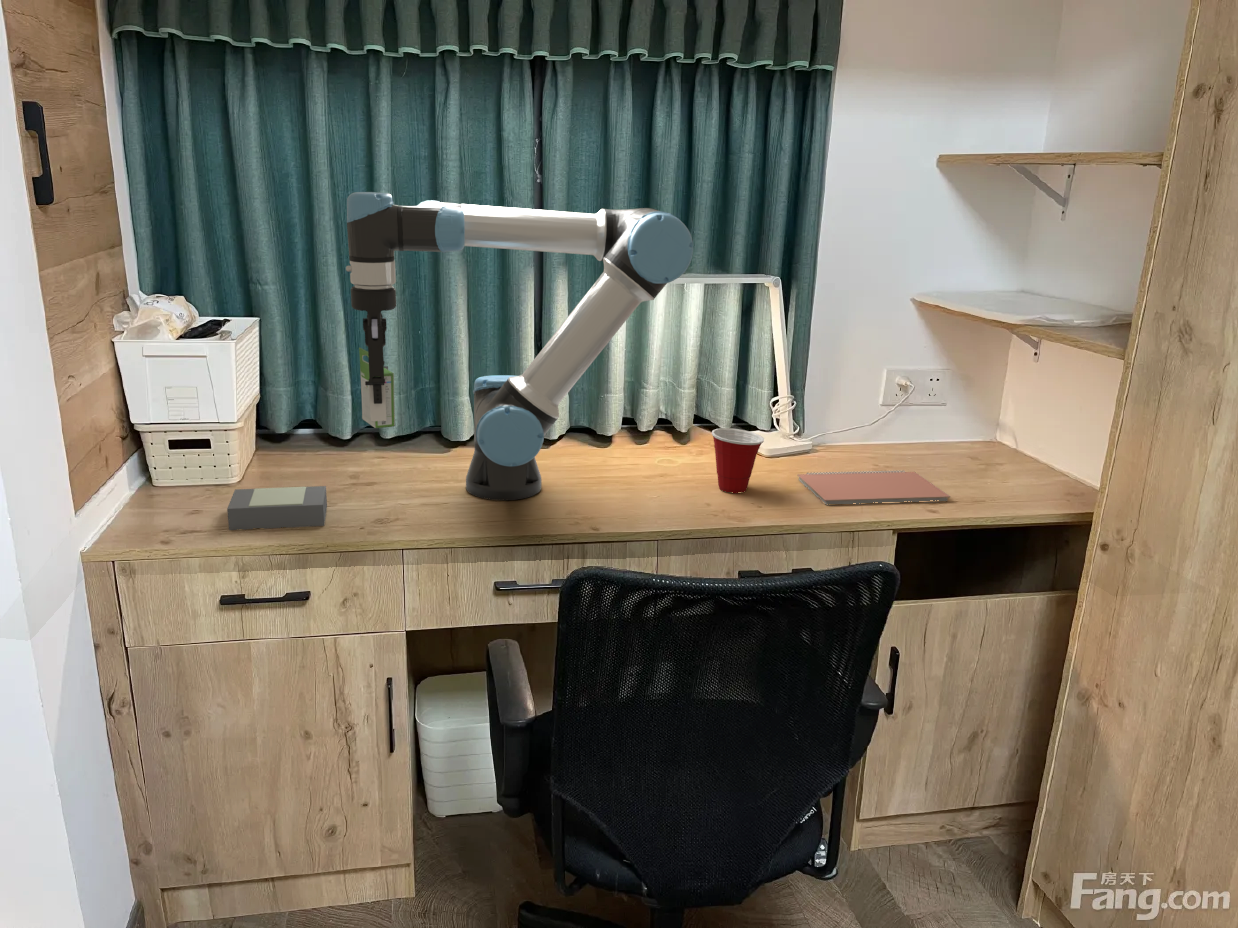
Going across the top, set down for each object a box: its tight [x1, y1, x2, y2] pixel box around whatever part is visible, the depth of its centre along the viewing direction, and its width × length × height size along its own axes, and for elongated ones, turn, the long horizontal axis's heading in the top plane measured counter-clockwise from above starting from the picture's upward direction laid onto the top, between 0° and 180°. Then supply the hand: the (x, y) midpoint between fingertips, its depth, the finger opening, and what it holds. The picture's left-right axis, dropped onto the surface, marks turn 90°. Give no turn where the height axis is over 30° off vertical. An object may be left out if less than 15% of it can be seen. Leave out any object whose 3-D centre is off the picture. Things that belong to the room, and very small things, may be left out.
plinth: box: [226, 485, 328, 531], centre depth 176 cm, size 16×10×4 cm, turn 103°
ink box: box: [358, 347, 396, 429], centre depth 172 cm, size 7×4×13 cm, turn 33°
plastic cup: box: [711, 427, 765, 494], centre depth 200 cm, size 11×11×12 cm
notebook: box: [797, 469, 951, 506], centre depth 204 cm, size 27×17×2 cm, turn 101°
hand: (378, 413), depth 174 cm, fingers closed on ink box, 8 cm apart
